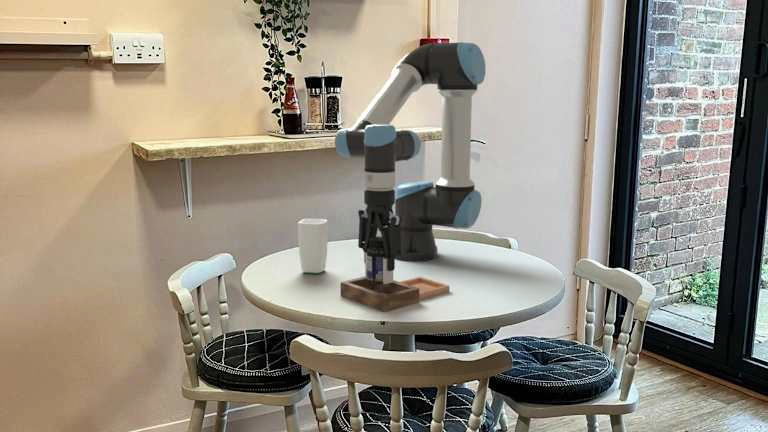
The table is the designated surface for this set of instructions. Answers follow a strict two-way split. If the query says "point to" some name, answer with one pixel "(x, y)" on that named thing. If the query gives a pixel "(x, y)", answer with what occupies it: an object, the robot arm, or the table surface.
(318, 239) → the cup
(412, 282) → the tray
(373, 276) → the pill bottle
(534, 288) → the table surface
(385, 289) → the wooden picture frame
